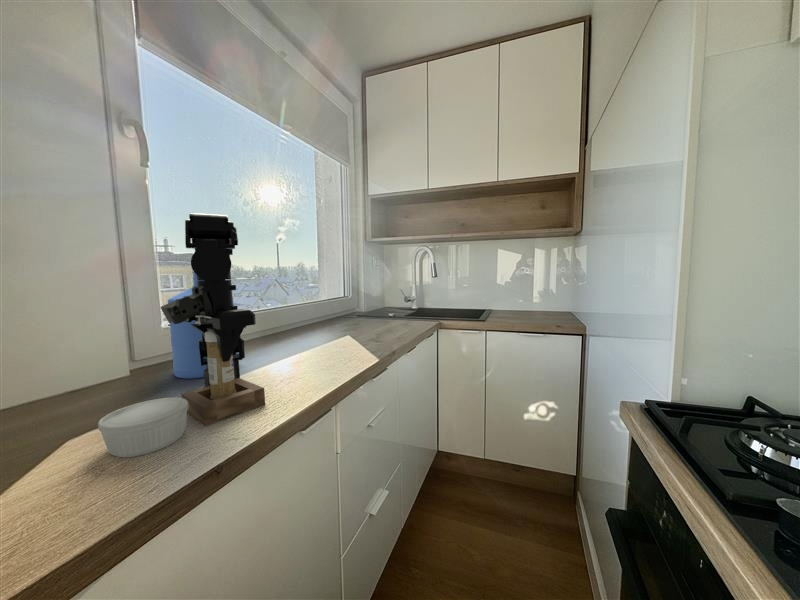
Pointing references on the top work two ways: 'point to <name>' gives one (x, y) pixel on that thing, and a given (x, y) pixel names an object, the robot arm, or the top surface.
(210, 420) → the socket block
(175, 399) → the ramekin
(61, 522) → the top surface
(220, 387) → the sprinkles bottle
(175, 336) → the water jug
